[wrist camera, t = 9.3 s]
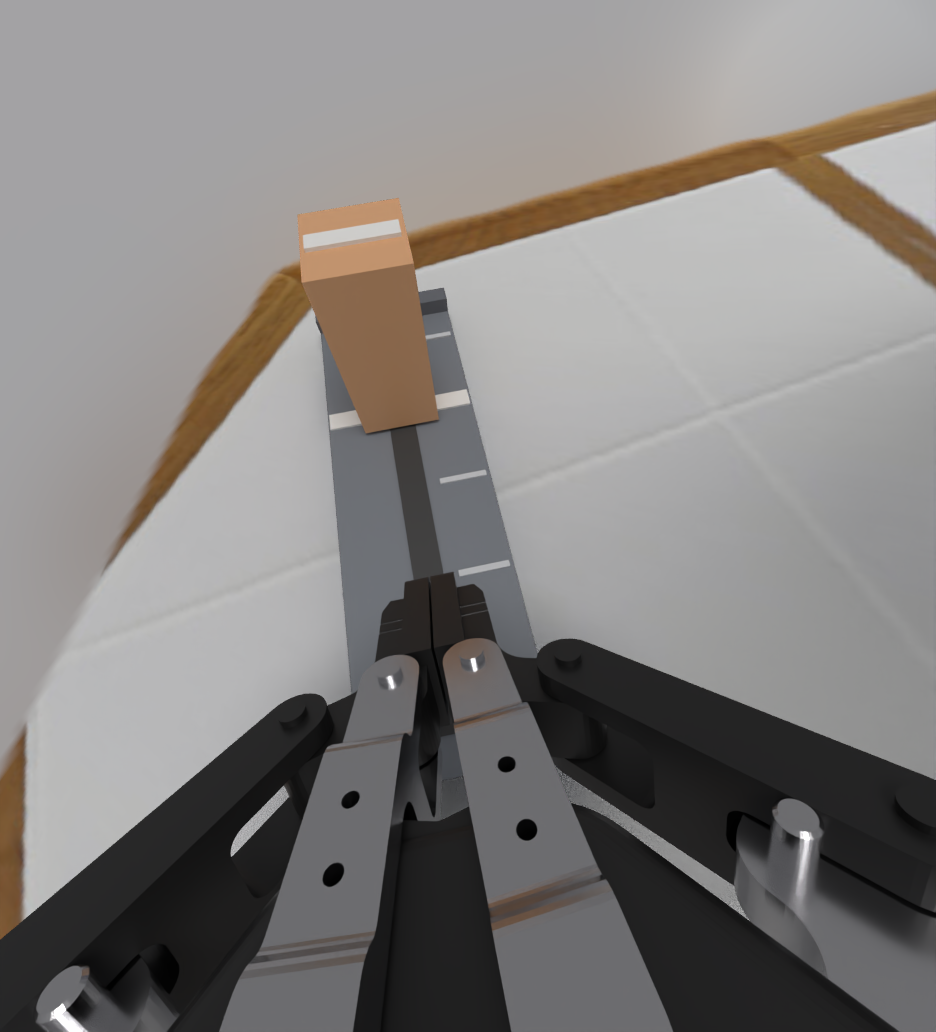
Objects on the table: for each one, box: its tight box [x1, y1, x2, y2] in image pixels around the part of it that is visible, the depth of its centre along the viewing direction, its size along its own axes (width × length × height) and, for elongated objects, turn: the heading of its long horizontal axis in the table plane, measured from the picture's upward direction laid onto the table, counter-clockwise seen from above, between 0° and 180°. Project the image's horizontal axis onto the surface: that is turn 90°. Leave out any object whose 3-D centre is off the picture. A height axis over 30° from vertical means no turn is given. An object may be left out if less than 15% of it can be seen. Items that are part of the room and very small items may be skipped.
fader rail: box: [315, 288, 538, 781], centre depth 23 cm, size 26×8×2 cm, turn 11°
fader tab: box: [298, 198, 439, 433], centre depth 21 cm, size 4×4×9 cm
